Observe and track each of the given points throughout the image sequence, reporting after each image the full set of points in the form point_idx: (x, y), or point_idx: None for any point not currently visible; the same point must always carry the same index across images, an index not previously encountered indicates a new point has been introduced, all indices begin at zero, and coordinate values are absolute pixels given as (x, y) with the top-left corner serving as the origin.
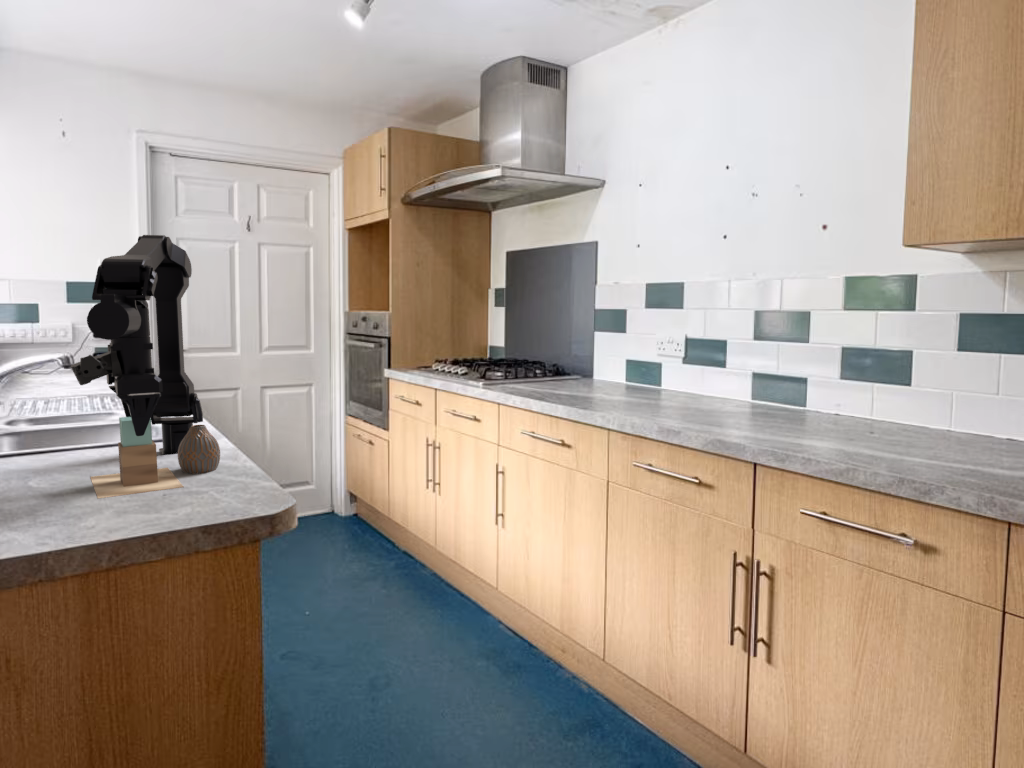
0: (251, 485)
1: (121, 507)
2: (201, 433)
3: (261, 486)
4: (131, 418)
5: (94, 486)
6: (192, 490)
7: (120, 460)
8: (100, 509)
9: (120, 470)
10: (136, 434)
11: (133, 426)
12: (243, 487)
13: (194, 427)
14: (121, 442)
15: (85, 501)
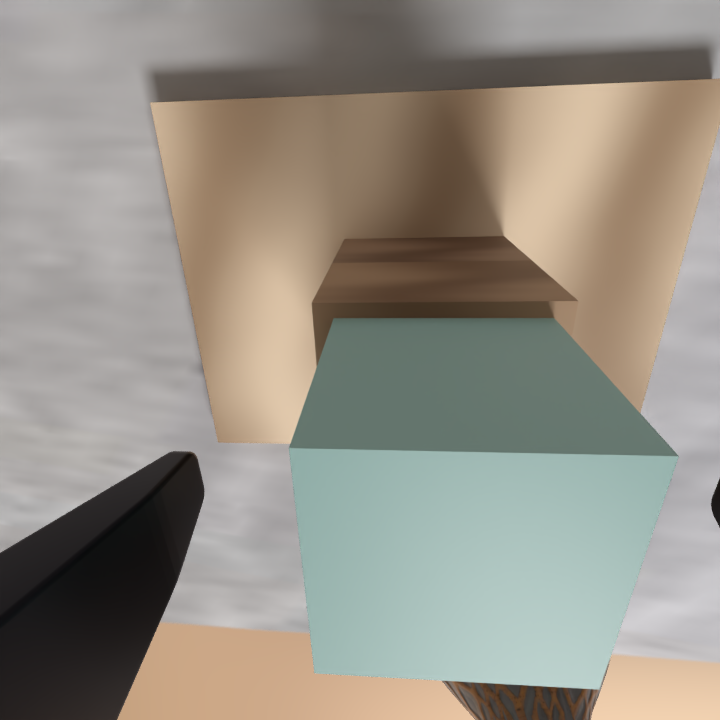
0: (222, 591)
1: (62, 200)
2: (471, 711)
3: (196, 606)
4: (22, 564)
5: (435, 94)
6: (235, 455)
7: (444, 267)
8: (52, 110)
9: (477, 249)
10: (159, 459)
11: (132, 498)
12: (206, 572)
13: None
14: (475, 323)
15: (234, 41)
